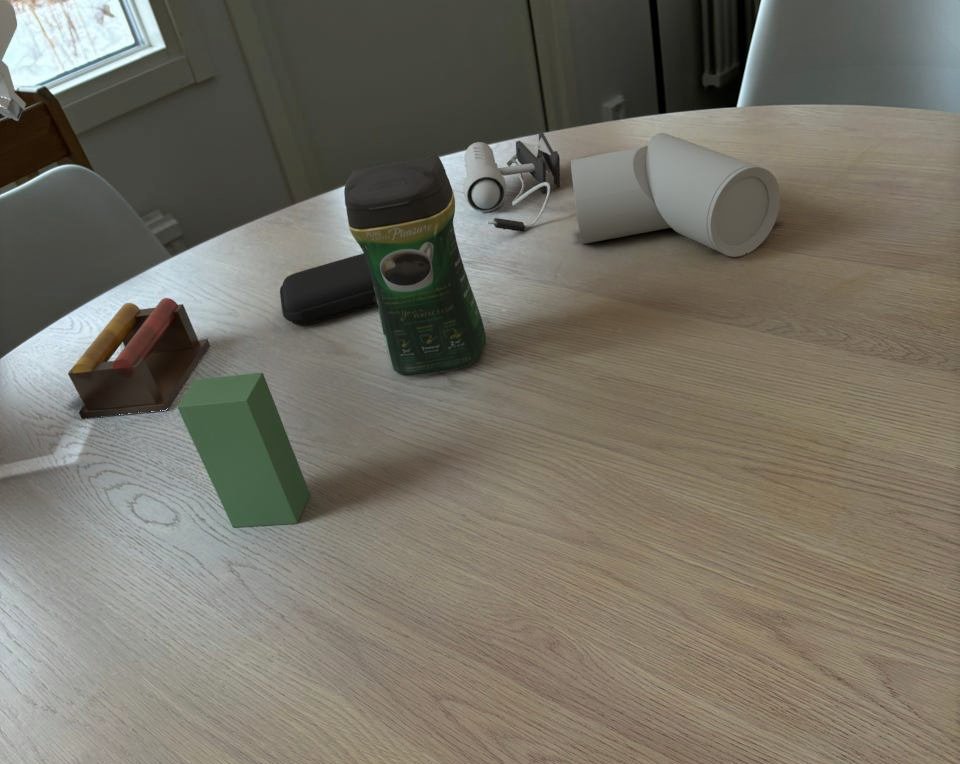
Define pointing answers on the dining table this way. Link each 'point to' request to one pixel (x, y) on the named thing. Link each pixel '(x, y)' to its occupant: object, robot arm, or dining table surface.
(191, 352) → the rod stand
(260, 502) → the green bar
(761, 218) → the l-shaped cylinder
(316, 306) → the carrying case
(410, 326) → the coffee jar
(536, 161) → the clip-on lamp
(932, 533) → the dining table surface
